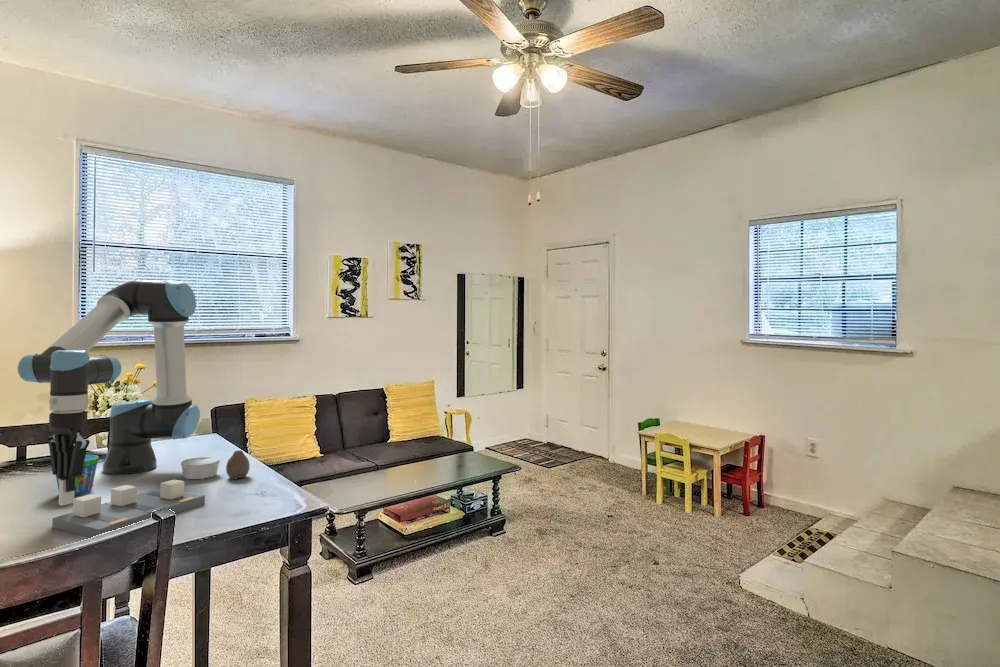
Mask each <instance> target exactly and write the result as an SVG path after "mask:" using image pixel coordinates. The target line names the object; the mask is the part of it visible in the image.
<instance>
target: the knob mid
mask: <svg viewBox="0 0 1000 667" xmlns="http://www.w3.org/2000/svg"><path fill="white" fill-rule="evenodd" d="M110 489H111V490H110V501H111V504H113V505H117V506H124V505H127V504H131V503H134V502H137V494H138V492H137V491H138V488H137V486H134V485H129V484H124V485H121V486H117V487H114V488H113V487H112V488H110Z"/></svg>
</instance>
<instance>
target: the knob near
mask: <svg viewBox="0 0 1000 667" xmlns="http://www.w3.org/2000/svg"><path fill="white" fill-rule="evenodd" d="M101 504H102V496H101V495H95V494H92V493H91V494H86V495H83V496H79V497H74V499H73V503H72V512H73V515H75V516H80V517H87V516H90V515H93V514H97V513H100V512H101Z"/></svg>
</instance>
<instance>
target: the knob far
mask: <svg viewBox="0 0 1000 667" xmlns="http://www.w3.org/2000/svg"><path fill="white" fill-rule="evenodd" d="M159 488H160V498H165V499H170V500H171V499H174V498H178V497H181V496H184V491H185V481H184V480H179V479H175V478H174V479H171V480H167V481H162V482H160V486H159Z"/></svg>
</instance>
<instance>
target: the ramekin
mask: <svg viewBox="0 0 1000 667" xmlns="http://www.w3.org/2000/svg"><path fill="white" fill-rule="evenodd" d="M220 462H221V460H220V458H218V457H214V456H200V457H194V458H193V457H192V458H188V459H184V460H183V461H181V462H180V466H181V470H182V476H183V478H186V480H188V479H202V480H205V479H204V478H208V479H210V478H209V477H211V478H213V477H212V476H214V475H215V476H216V475H217V473H218V470H219V466H220ZM215 476H214V477H215Z"/></svg>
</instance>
